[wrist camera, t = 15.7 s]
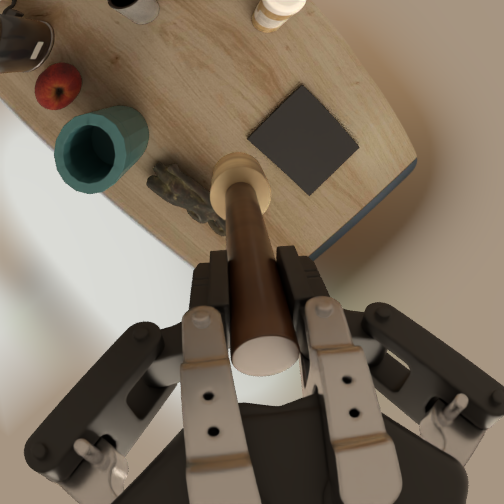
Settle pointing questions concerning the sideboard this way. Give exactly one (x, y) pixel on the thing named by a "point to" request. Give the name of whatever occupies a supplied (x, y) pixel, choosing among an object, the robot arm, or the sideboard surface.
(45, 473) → the robot arm
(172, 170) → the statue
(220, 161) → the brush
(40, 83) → the apple
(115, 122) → the jar
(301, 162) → the mat
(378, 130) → the sideboard surface
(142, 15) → the grey hollow cylinder
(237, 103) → the sideboard surface
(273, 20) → the spice bottle
